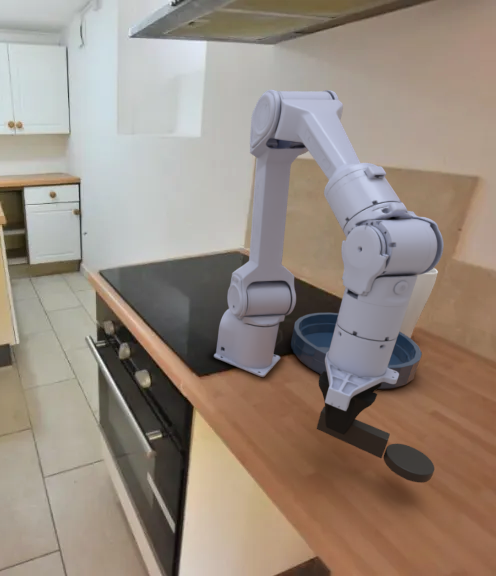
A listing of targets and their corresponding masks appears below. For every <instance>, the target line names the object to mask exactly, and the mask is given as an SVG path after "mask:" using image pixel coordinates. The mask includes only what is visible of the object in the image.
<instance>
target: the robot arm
mask: <svg viewBox="0 0 496 576" xmlns="http://www.w3.org/2000/svg"><path fill="white" fill-rule="evenodd" d="M343 109H344V103H343V102H342V101H340V98H339V96H338V94H337V93H336V92H335V91H334V90H331V89H326V90H322V91H319V90H318V91H317V90H315V91H311V90H309V91H308V90H307V91H306V90H275V89H267V90H265V91H263V93H262V95H261V96H259V98H258V100H257V102H256V104H255V106H254V108H253V110H252V113H251V118H250V119H251V120H250V132H249V133H250V134H249V135H250V136H249V153H250V155H252V156H254V157H255V158H256V160H255V172H254V173H255V174H254V185H253V186H254V187H253V199H252V200H253V202H252V215H251V230H250V243H249V256H248V261H247V262H246V263H244V264H243V265H242V266H240V267H238V268H236V270H234V271H233V272H232V273H231V279H230V284H229V287H228V289H227V297H226V298H227V299H226V301H227V305H228V309H226V310H225V311H224V313H223V315H222V317H221V319H220V322H219V326H218V333H217V340H216V341H217V342H216V350H215V353H214V354H213V358H215V359H216V360H219V361H222V362H224V363H227V364H229V365H231V366H234V367H236V368H238V369H241V370H243V371H246V372H248V373H251V374H253V375H255V376H258V377H261V378H264V377H266V375H267V374H268V373H269V372H270V371H271V370H272V369H273V368H274V367H275V366H276V365H277V363H278V362H279V361H280V360H281V356H280V355H278V354H274V353H275V348H276V343H277V337H278V333H279V328H280V327H279V326H280V323H281V322H284V321H285V318H286V316H289V315H291V314H292V312H293V311H294V309H295V308H296V307H295V306H296V303H297V293H296V290H295V289H296V288H295V274H293V273H292V272H291V271H290V269H288V268H287V267H286V266H284V265H283V255H284V244H285V243H284V242H285V232H286V222H287V212H288V211H287V210H288V199H289V189H290V179H291V168H292V164H293V162H295V160H296V159H298V157H299V156H302V155H304V154H306V153H309V154H310V156H311V157H312V158H313V160H314V161H315V163H316V164H317V166H318V167H319V168H320V170H321V171H322V173H323V174H324V176H325V177H326V178H327V180H328V181H327V183H326V184H325V187H324V190H323V195H324V198H325V200H326V201H327V204H328V206H329V208H330V209H331V212H332V213H333V215H334V217H335V219H336V221H337V222H338V225H339V226H340V228H341V230H342V232H343V234H344V237H345V239H344V240H342V241H341V247H340V248H341V249H340V250H341V259H342V263H343V273H342V277H341V280H342V285H343V286H344V292H343V295H342V299H341V303H340V305H339V306H340V307H339V310H338V313H339V314H338V318H337V322H336V326H335V330H334V334H333V338H332V341H331V345H330V349H329V351H328V352H327V354H326V357H325V365H326V370H327V372H325V371H323V372H322V374H319V376H318V387H319V389H320V391H321V394H322V397H323V401H324V406H325V423H326V427H327V428H329V429H332V430H334V431H336V432H338V433H340V434H343V435H344V434H345V433H346V432H347V431H348V430H349V428H350V427H351V425H352V423H353V422H354V420H355V419H357V418H358V416H359V415H360V414H361V412H363V411H364V410H365V409H367V408H369V407H371V406H372V405H373V404H374V403H375V401H376V400H377V397H378V393H376V390H379V389H378V388H379V387H381V385H382V382H387V383H389V384H396V382H397V379H398V376H399V373H398V372H397V371H395V370H392V369H389V368H388V364H389V361H390V358H391V355H392V352H393V349H394V346H395V343H396V340H397V337H398V334H399V331H400V328H401V325H402V322H403V319H404V316H405V313H406V310H407V307H408V304H409V301H410V298H411V295H412V292H413V289H414V286H415V283H416V280H417V277H418V276H417V275H420V274H424V273H427V272H429V271H430V270H432V269H433V268H435V267H436V266H437V265H438V264H439V263H440V261H441V258H442V257H443V254H444V253H443V252H444V247H445V246H444V245H445V244H444V237H443V235H442V233H441V231H440V229H439V225H438V223H437V222H436V221H434V220H433V219H431V218H429V217H425V216H419V215H417V214H416V213H415V212H414V211H413V210H412V211H411V210H408V209H407V207H406V205H405V203H404V202H402V201H401V199H400V198H399V196H398V194H397V193H396V191H395V190H394V189H393V187H392V185H391V184H390V182H389V181H388V179H387V178H386V176H387V172H386V171H385V169H384V167H383V166H381V165H376V164H375V163H371V162H361V161H360V158H359V157H358V154H357V153H356V152H357V151H355V149H354V146H353V144H352V142H351V140H350V138H349V136H348V134H347V132H346V130H345V128H344V126H343V124H342V122H341V119H342V114H343ZM414 275H415V276H414Z"/></svg>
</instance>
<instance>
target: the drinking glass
mask: <svg viewBox="0 0 496 576" xmlns="http://www.w3.org/2000/svg"><path fill="white" fill-rule="evenodd" d="M438 274H439V271H438V270H437V268H435V267H434V268H433V269H432V270H430V271H429V272H427V273H424V274H420V275H417V276H418V277H417V280H416V283H415V286H414V289H413V292H412V295H411V298H410V301H409V304H408V307H407V310H406V313H405V316H404V319H403V322H402V325H401V328H400V332H402V333H403V334H405V335H406V336H408V337H409V338H411V339H412V336H413V333H414V330H415V328H416V326H417V324H418V322H419V320H420V318H421V316H422V313H423V311H424V309H425V307H426V305H427V303H428V301H429V299H430V297H431V294H432V292H433V289H434V287H435V284H436V281H437V277H438ZM414 276H415V275H414Z"/></svg>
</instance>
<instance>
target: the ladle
mask: <svg viewBox="0 0 496 576" xmlns="http://www.w3.org/2000/svg"><path fill="white" fill-rule="evenodd" d="M316 430H318V431H320V432H323V433H324V434H326V435H328V436H330V437H332V438H335V439H337V440H340V441H342V442H344V443H346V444H349V445H351V446H353V447H355V448H356V449H359V450H362V451H364V452H366V453H368V454H370V455H373V456H375V457H376V458H379V459H382V458H383V462H384V464H385V465H386V467H387V468H388V469H389V470H391V471H392V472H393V473H394V474H395V475H397V476H398V477H400V478H402V479H405V480H407V481H410V482H413V483H419V484H420V483H421V484H423V483H427V482H430V480H431V479H432V477H433V475H434V473H435V464H434V463H433V461H432V459H430V458H429V457H428V455H426V454H425V453H424V452H422V451H421V450H419V449H417V448H415V447H413V446H410V445H408V444H403V443H391V444H389V445H388V441H389V439H390V436H391V434H390V433H389V432H387V431H385V430H382V429H380V428H378V427H376V426H373V425H371V424H368V423H366V422H363V421H361V420H359V419H357V418H355V420H354V422H353V423H352V425H351V427H350V428H349V430H348V431H347V432H346V433H345V434H344V435H343V434H340V433H338V432H336V431H334V430H332V429H329V428H327V427H326V423H325V405H324V406H323V408H322V409H321V411H320V413H319V417H318V421H317V425H316Z"/></svg>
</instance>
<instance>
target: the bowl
mask: <svg viewBox="0 0 496 576" xmlns="http://www.w3.org/2000/svg"><path fill="white" fill-rule="evenodd" d="M338 314H339V312H313V313H309V314H305V315H302V316H300V317H298V319H297V320H295V321H294V325H293V330H292V335H291V340H290V347H291V349H292V352H293V354H294V355H295V356H296V357H297V358H298V360H299V361H300V362H301V363H302V364H304V365H305V366H306V367H307V368H309V369H310V370H312V371H314V372H316V373H317V374H319V375H321V374H322V372H323V371H325V372H327V370H326V365H325V357H326V354H327V352H328V351H329V349H330V345H331V341H332V338H333V334H334V330H335V326H336V322H337V318H338ZM422 355H423V354H422V350H421V349H420V346H419V345H418V344H417V343H416V342H415V341H414V340H413V339H412V337H411V338H409V337H408V336H406V335H405V334H403V333H402V332H400V331H399V334H398V337H397V340H396V343H395V346H394V349H393V352H392V355H391V358H390V361H389V364H388V368H389V369H392V370H395V371H397V372H398V373H399V376H398V379H397V382H396V384H389V383H387V382H382V385H381V387H379V388H378V389H377V390H391V389H395V388H399V387H402V386H405V385H407V384H409V383H410V382H411V381H413V380H414V377H415V376H416V372H417V370H418V367H419V364H420V361H421V358H422Z"/></svg>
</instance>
